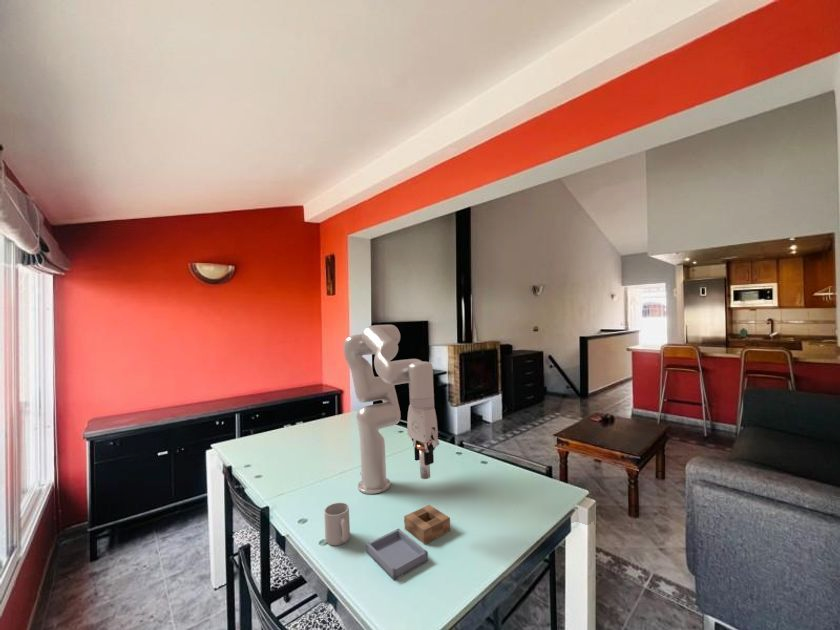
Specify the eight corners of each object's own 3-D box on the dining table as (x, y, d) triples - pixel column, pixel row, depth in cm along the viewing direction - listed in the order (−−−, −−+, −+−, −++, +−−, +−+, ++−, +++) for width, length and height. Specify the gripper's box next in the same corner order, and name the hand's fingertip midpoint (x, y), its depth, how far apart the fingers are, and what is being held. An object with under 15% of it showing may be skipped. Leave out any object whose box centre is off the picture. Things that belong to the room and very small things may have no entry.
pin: (415, 476, 110) (413, 444, 110) (426, 472, 112) (424, 440, 113) (424, 481, 106) (422, 447, 107) (435, 476, 109) (433, 444, 109)
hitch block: (404, 529, 110) (404, 516, 110) (429, 517, 116) (429, 504, 117) (424, 544, 102) (423, 530, 103) (450, 530, 109) (449, 517, 109)
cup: (344, 528, 112) (342, 500, 112) (358, 544, 104) (357, 513, 104) (321, 537, 108) (320, 508, 108) (334, 554, 100) (333, 522, 100)
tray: (366, 552, 100) (366, 543, 100) (398, 536, 107) (398, 528, 107) (393, 580, 89) (393, 570, 89) (428, 560, 96) (427, 551, 96)
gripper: (396, 399, 114) (398, 457, 114) (429, 409, 101) (432, 474, 101) (415, 396, 119) (417, 451, 119) (449, 404, 105) (451, 466, 105)
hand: (424, 461), depth 110 cm, fingers closed on pin, 4 cm apart
